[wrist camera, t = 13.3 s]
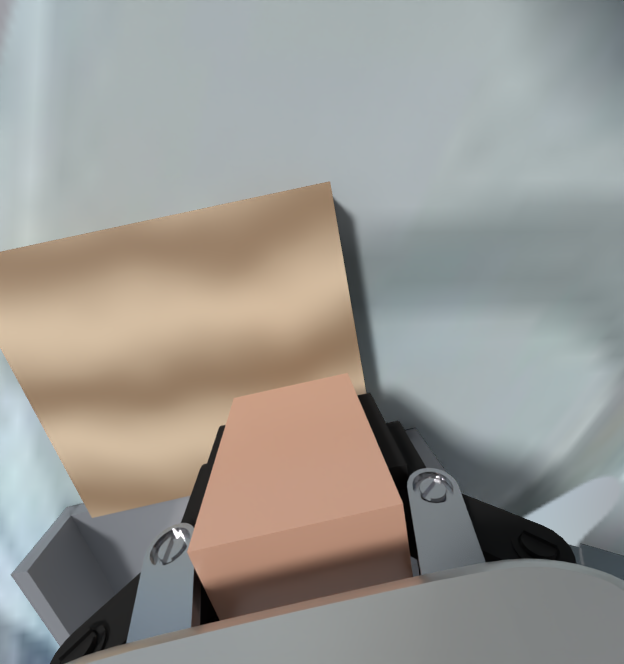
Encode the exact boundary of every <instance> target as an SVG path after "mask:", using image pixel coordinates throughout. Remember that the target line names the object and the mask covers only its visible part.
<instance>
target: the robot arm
mask: <svg viewBox="0 0 624 664" xmlns="http://www.w3.org/2000/svg"><path fill="white" fill-rule="evenodd" d="M357 396H358V399H359V401H360V403H361V406H362V408H363V410H364V413H365V415H366V417H367V420H368V422H369V424H370V427H371V429H372V432H373V434H374V436H375V439H376V441H377V443H378V446H379V448H380V450H381V453H382V455H383V458H384V460H385V462H386V465H387V467H388V469H389V472H390V474H391V476H392V479H393V481H394V484H395V486H396V488H397V491H398V493H399V495H400V498H401V500H402V502H403V507H404V514H405V522H406V529H407V536H408V544H409V551H410V556H411V557H413V558H415V559H416V560H417V566H418V572H419V576H415V577H411V578H406V579H402V580H397V581H393V582H388V583H384V584H379V585H375V586H370V587H365V588H361V589H356V590H352V591H347V592H343V593H339V594H334V595H330V596H325V597H321V598H317V599H312V600H308V601H303V602H299V603H295V604H290V605H286V606H282V607H277V608H273V609H268V610H264V611H260V612H255V613H251V614H247V615H242V616H238V617H234V618H230V619H225V620H221V621H220V620H219V618H218V615H217V613H216V611H215V609H214V607H213V605H212V603H211V601H210V599H209V597H208V595H207V593H206V591H205V589H204V586H203V584H202V582H201V580H200V578H199V576H198V574H197V572H196V570H195V568H194V566H193V564H192V562H191V560H190V558H189V555H188V553H187V551H188V547H189V544H190V541H191V537H192V534H193V531H194V528H195V524H196V521H197V518H198V514H199V511H200V508H201V505H202V501H203V498H204V495H205V491H206V488H207V485H208V482H209V478H210V475H211V472H212V468H213V465H214V462H215V459H216V455H217V452H218V449H219V445H220V442H221V439H222V436H223V432H224V429H225V426H226V425H222V426H220V427H219V429H218V432H217V435H216V438H215V441H214V444H213V447H212V450H211V453H210V456H209V459H208V462H207V463H206V464H203V465H202V466H201V468H200V470H199V473H198V476H197V479H196V482H195V484H194V487H193V490H192V493H191V496H190V498H189V501H188V504H187V507H186V510H185V513H184V515H183V518H182V521H181V523H179V524H175V525H172V526H170V527H168V528H167V529H165V530H164V531H162V532H161V533H160V534H159V535H158V536H157V537H156V538H155V539H154V540H153V541H152V542H151V544H150V545H149V547H148V548H147V551H146V553H145V556H144V561H143V565H142V570H141V572H140V573H139V574H138V575H137V576H136V577H135V578H134V579H132V580H131V581H130V582H129V583H128V584H127V585H126V586H125V587H123V588H122V589H121V590H120V591H119V592H118V593H117V594H116V595H115V596H113V597H112V598H111V599H110V600H109V601H108V602H107V603H106V604H104V605H103V606H102V607H101V608H100V609H99V610H98V611H97V612H96V613H94V614H93V615H92V616H91V617H90V618H89V619H88V620H87V621H85V622H84V623H83V624H82V625H81V626H80V627H79V628H78V629H77V630H75V631H74V632H73V633H72V634H71V635H70V636H69V637H68V638H67V639H66V640H65V641H64V643H63V644H62V645H61V647H60V648H59V649H58V651H57V652H56V653H55V655H54V657H53V659H52V661H51V663H50V664H624V556H622V555H619V554H615V553H612V552H609V551H605V550H602V549H598V548H595V547H592V546H588V545H585V544H581V543H580V548H579V547H575V546H572V545H569V544H567V543H566V542H565V541H564V539H563V538H562V537H560V536H559V535H558V534H557V533H555V532H554V531H553V530H550V529H549V528H547V527H545V526H542V525H540V524H538V523H535V522H533V521H530V520H527V519H525V518H522V517H520V516H517V515H515V514H512V513H510V512H507V511H505V510H502V509H500V508H497V507H494V506H492V505H489V504H487V503H484V502H482V501H479V500H477V499H474V498H472V497H469V496H466V495H464V494H461V491H460V488H459V486H458V484H457V482H456V480H455V479H454V478H453V477H452V476H451V475H450V474H448V473H446V472H444V471H442V470H439V469H436V468H426V466H425V464H424V462H423V461H422V459H421V457H420V456H419V454H418V452H417V450H416V449H415V447H414V445H413V444H412V442H411V440H410V438H409V437H408V435H407V433H406V432H405V430H404V428H403V427H402V425H401V423H400V422H399V421H395V422H390V423H385V421H384V419H383V417H382V415H381V413H380V411H379V409H378V407H377V405H376V403H375V401H374V399H373V397H372V395H371V393H366V394H361V395H357Z"/></svg>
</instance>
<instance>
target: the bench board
mask: <svg viewBox="0 0 624 664" xmlns="http://www.w3.org/2000/svg"><path fill="white" fill-rule="evenodd" d="M0 348H1V350H2V352H3V354H4V356H5V358H6V359H7V361H8V363H9V365H10V367H11V369H12V371H13V372H14V374H15V376H16V378H17V380H18V382H19V384H20V385H21V387H22V389H23V391H24V393H25V395H26V397H27V398H28V400H29V402H30V404H31V406H32V408H33V410H34V411H35V413H36V415H37V417H38V419H39V421H40V423H41V424H42V426H43V428H44V430H45V432H46V434H47V436H48V437H49V439H50V441H51V443H52V445H53V447H54V449H55V450H56V452H57V454H58V456H59V458H60V460H61V462H62V463H63V465H64V467H65V469H66V471H67V473H68V474H69V476H70V478H71V480H72V482H73V484H74V486H75V487H76V489H77V491H78V493H79V495H80V497H81V499H82V500H83V502H84V504H85V506H86V508H87V510H88V512H89V513H90V515H91V517H92V518H94V517H99V516H103V515H108V514H112V513H116V512H121V511H125V510H130V509H134V508H138V507H143V506H147V505H152V504H156V503H160V502H165V501H169V500H173V499H178V498H182V497H187V496H191V493H192V490H193V487H194V484H195V482H196V479H197V476H198V473H199V470H200V468H201V466H202V465H203V464H206V463H207V462H208V459H209V456H210V453H211V450H212V447H213V444H214V441H215V438H216V435H217V432H218V429H219V427H220V426H222V425H226V422H227V419H228V416H229V412H230V409H231V406H232V403H233V399H234V398H236V397H241V396H245V395H250V394H254V393H259V392H263V391H268V390H272V389H277V388H281V387H286V386H290V385H295V384H299V383H304V382H309V381H313V380H318V379H322V378H327V377H331V376H336V375H340V374H345V373H348V375H349V377H350V380H351V382H352V384H353V387H354V389H355V391H356V394H357V395H361V394H366V388H365V382H364V377H363V371H362V365H361V359H360V353H359V347H358V342H357V336H356V330H355V324H354V318H353V313H352V307H351V301H350V295H349V289H348V283H347V278H346V272H345V266H344V260H343V254H342V249H341V243H340V237H339V231H338V225H337V219H336V214H335V208H334V202H333V196H332V190H331V185H330V182H325V183H320V184H316V185H311V186H306V187H302V188H297V189H292V190H287V191H283V192H278V193H273V194H269V195H264V196H259V197H255V198H250V199H245V200H241V201H236V202H231V203H227V204H222V205H217V206H213V207H208V208H203V209H199V210H194V211H189V212H184V213H180V214H175V215H170V216H166V217H161V218H156V219H152V220H147V221H142V222H138V223H133V224H128V225H124V226H119V227H114V228H110V229H105V230H100V231H96V232H91V233H86V234H81V235H77V236H72V237H67V238H63V239H58V240H53V241H49V242H44V243H39V244H35V245H30V246H25V247H21V248H16V249H11V250H7V251H2V252H0Z"/></svg>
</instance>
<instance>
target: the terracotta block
mask: <svg viewBox="0 0 624 664" xmlns="http://www.w3.org/2000/svg"><path fill="white" fill-rule="evenodd" d="M187 553H188V555H189V558H190V560H191V562H192V564H193V566H194V568H195V570H196V572H197V574H198V576H199V578H200V580H201V582H202V584H203V586H204V589H205V591H206V593H207V595H208V597H209V599H210V601H211V603H212V605H213V607H214V609H215V611H216V613H217V615H218V618H219V620H220V621H221V620H225V619H230V618H234V617H238V616H242V615H247V614H251V613H255V612H260V611H264V610H268V609H273V608H277V607H282V606H286V605H290V604H295V603H299V602H303V601H308V600H312V599H317V598H321V597H325V596H330V595H334V594H339V593H343V592H347V591H352V590H356V589H361V588H365V587H370V586H375V585H379V584H384V583H388V582H393V581H397V580H402V579H406V578H411V577H413V573H412V565H411V558H410V551H409V544H408V536H407V529H406V522H405V514H404V507H403V502H402V500H401V498H400V495H399V493H398V491H397V488H396V486H395V484H394V481H393V479H392V476H391V474H390V472H389V469H388V467H387V465H386V462H385V460H384V458H383V455H382V453H381V450H380V448H379V446H378V443H377V441H376V439H375V436H374V434H373V432H372V429H371V427H370V424H369V422H368V420H367V417H366V415H365V413H364V410H363V408H362V406H361V403H360V401H359V399H358V396H357V394H356V391H355V389H354V387H353V384H352V382H351V380H350V377H349V375H348V373H345V374H340V375H336V376H331V377H327V378H322V379H318V380H313V381H309V382H304V383H299V384H295V385H290V386H286V387H281V388H277V389H272V390H268V391H263V392H259V393H254V394H250V395H245V396H241V397H236V398H234V399H233V403H232V406H231V409H230V412H229V416H228V419H227V422H226V426H225V429H224V432H223V436H222V439H221V442H220V445H219V449H218V452H217V455H216V459H215V462H214V465H213V468H212V472H211V475H210V478H209V482H208V485H207V488H206V491H205V495H204V498H203V501H202V505H201V508H200V511H199V514H198V518H197V521H196V524H195V528H194V531H193V534H192V537H191V541H190V544H189V547H188V551H187Z"/></svg>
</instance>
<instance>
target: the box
mask: <svg viewBox="0 0 624 664" xmlns="http://www.w3.org/2000/svg"><path fill="white" fill-rule="evenodd" d="M405 432H406V433H407V435H408V437H409V438H410V440H411V442H412V444H413V445H414V447H415V449H416V450H417V452H418V454H419V456H420V457H421V459H422V461H423V462H424V464H425V466H426V468H436V469H439V470H442V471H444V472H446V471H445V470H444V468H443V467H442V465H441V464H440V463H439V461H438V460H437V458H436V457H435V455H434V454H433V452H432V451H431V449H430V448H429V447H428V445H427V444H426V442H425V441H424V439H423V438H422V436H421V435H420V433H419V432H418V431H417V429H416V428H414V429H410V430H405ZM189 498H190V496H187V497H182V498H178V499H173V500H169V501H165V502H160V503H156V504H152V505H147V506H143V507H138V508H134V509H130V510H125V511H121V512H116V513H112V514H108V515H103V516H99V517H94V518H92V517H91V515H90V513H89V512H88V510H87V508H86V506H85V504H84V503H83V504H79V505H74V506H70V507H66V509H65V510H64V511H63V512H62V514H61V515H60V516H59V517H58V518H57V520H56V521H55V522H54V523H53V524H52V526H51V527H50V528H49V529H48V530H47V532H46V533H45V534H44V535H43V536H42V538H41V539H40V540H39V541H38V542H37V544H36V545H35V546H34V547H33V549H32V550H31V551H30V552H29V553H28V555H27V556H26V557H25V558H24V559H23V561H22V562H21V563H20V564H19V565H18V567H17V568H16V569H15V570H14V571H13V573H12V574H11V576H12V577H13V579H14V580H15V582H16V583H17V585H18V586H19V587H20V589H21V590H22V592H23V593H24V595H25V596H26V598H27V599H28V600H29V602H30V603H31V605H32V606H33V608H34V609H35V611H36V612H37V614H38V615H39V616H40V618H41V619H42V621H43V622H44V624H45V625H46V627H47V628H48V630H49V631H50V632H51V634H52V635H53V637H54V638H55V640H56V641H57V643H58V644H59V646H60V647H61V645H62V644H63V643H64V641H65V640H66V639H67V638H68V637H69V636H70V635H71V634H72V633H73V632H74V631H75V630H77V629H78V628H79V627H80V626H81V625H82V624H83V623H84V622H85V621H87V620H88V619H89V618H90V617H91V616H92V615H93V614H94V613H96V612H97V611H98V610H99V609H100V608H101V607H102V606H103V605H104V604H106V603H107V602H108V601H109V600H110V599H111V598H112V597H113V596H115V595H116V594H117V593H118V592H119V591H120V590H121V589H122V588H123V587H125V586H126V585H127V584H128V583H129V582H130V581H131V580H132V579H134V578H135V577H136V576H137V575H138V574H139V573H140V572H141V570H142V565H143V561H144V556H145V553H146V551H147V548H148V547H149V545H150V544H151V542H152V541H153V540H154V539H155V538H156V537H157V536H158V535H159V534H160V533H161V532H162V531H164V530H165V529H167V528H168V527H170V526H172V525H175V524H179V523H181V521H182V518H183V515H184V513H185V510H186V507H187V504H188V501H189ZM410 558H411V565H412V573H413V577H415V576H419V572H418V566H417V560H416V559H415V558H413V557H411V556H410Z"/></svg>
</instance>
